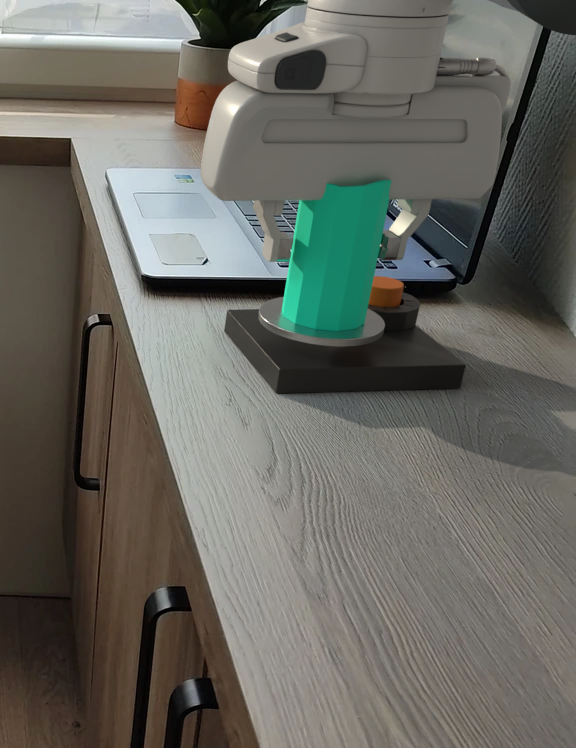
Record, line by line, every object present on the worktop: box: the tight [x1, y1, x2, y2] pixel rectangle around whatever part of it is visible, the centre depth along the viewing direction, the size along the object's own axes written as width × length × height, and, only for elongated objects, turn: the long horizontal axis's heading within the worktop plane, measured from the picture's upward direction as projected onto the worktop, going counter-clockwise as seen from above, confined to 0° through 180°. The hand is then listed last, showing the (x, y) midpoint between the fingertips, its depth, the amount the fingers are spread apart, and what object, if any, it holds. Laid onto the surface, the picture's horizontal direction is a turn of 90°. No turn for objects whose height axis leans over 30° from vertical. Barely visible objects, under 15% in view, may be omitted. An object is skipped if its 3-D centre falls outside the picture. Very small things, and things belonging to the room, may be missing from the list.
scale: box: [223, 292, 467, 394], centre depth 84 cm, size 14×12×4 cm
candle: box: [282, 180, 392, 331], centre depth 78 cm, size 6×6×12 cm
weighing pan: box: [258, 296, 385, 347], centre depth 81 cm, size 9×9×1 cm
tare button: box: [369, 275, 405, 307], centre depth 86 cm, size 3×3×2 cm
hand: (332, 258), depth 79 cm, fingers open, 7 cm apart
